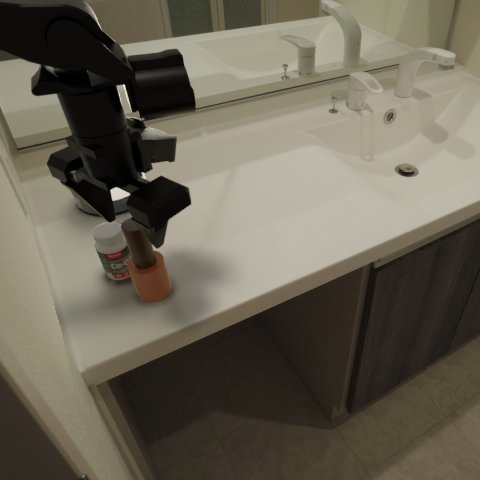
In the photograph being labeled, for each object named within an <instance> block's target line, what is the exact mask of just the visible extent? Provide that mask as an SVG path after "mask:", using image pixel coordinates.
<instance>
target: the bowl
mask: <svg viewBox="0 0 480 480" xmlns="http://www.w3.org/2000/svg"><path fill="white" fill-rule="evenodd" d="M140 177H142V178H144V179H146V180H148V179H147V177H146V173H143V172H142V173H140ZM110 191H111V196H112V200H113V204H114V208H115V214H119V213H123V212H126V211H128V209H127V206H126V203H127V200H128V198H129V196H130V193H128V192H126V191H124V190H122V189H120V188H117V187H115V188H113V189H112V190H110ZM70 193H71V195H72V197H73V200H74V202H75V204H76V206H77V208H79V209H81V211H83V212H85V213H89V214H92V215H99V214H98V213H97V212H96V211H95V210H93V209H92V208H91V207H90V206H89V205H87V204H86V203H85V202H84V201H83V200H81V199H80V198H79V197H78V196H77V195H75V194H74V193H73V192H72V191H71V190H70Z"/></svg>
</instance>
